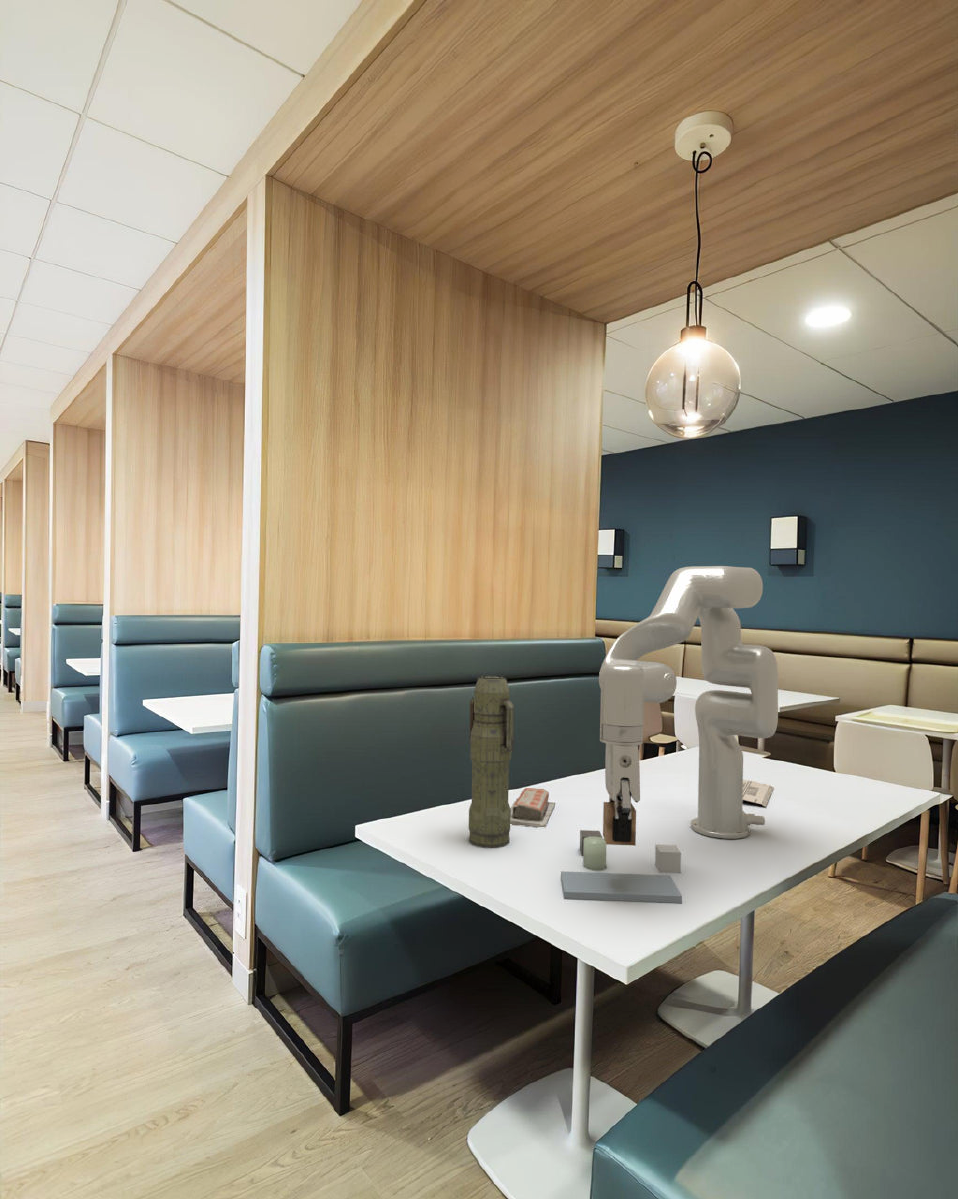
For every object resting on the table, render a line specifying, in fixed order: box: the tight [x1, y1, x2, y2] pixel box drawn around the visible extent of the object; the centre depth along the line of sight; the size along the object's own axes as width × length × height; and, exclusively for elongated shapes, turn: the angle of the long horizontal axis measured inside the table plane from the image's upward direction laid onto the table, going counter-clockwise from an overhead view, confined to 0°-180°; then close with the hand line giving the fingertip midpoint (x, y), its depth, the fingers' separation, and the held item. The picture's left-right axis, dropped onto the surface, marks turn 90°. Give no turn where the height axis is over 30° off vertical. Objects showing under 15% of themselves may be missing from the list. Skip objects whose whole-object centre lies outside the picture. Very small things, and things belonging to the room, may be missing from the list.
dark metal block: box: [579, 829, 603, 857], centre depth 141 cm, size 4×4×4 cm
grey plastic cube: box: [654, 844, 682, 874], centre depth 133 cm, size 4×4×4 cm
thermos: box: [468, 675, 515, 849], centre depth 147 cm, size 9×12×35 cm
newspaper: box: [742, 779, 775, 809], centre depth 186 cm, size 23×12×2 cm, turn 152°
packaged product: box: [510, 787, 556, 828], centre depth 166 cm, size 18×5×10 cm
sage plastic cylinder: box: [582, 836, 608, 871], centre depth 134 cm, size 4×4×5 cm
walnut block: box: [602, 801, 637, 846], centre depth 122 cm, size 5×5×6 cm
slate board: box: [560, 870, 683, 904], centre depth 123 cm, size 20×9×1 cm, turn 87°
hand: (619, 834), depth 122 cm, fingers closed on walnut block, 5 cm apart
